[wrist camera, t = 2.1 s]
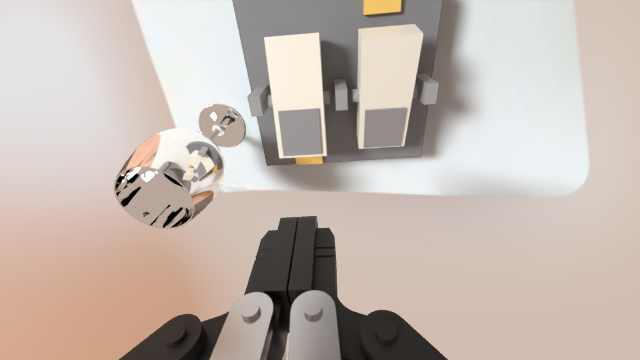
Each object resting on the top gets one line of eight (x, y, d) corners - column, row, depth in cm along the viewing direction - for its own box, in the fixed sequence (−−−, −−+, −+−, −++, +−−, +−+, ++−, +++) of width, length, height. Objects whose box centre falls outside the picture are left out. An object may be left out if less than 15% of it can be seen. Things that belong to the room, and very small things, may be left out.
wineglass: (260, 114, 25) (214, 183, 15) (241, 161, 28) (192, 246, 18) (199, 85, 24) (106, 139, 14) (186, 137, 27) (100, 215, 17)
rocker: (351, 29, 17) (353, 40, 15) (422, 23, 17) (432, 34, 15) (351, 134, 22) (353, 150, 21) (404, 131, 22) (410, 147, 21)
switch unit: (243, -2, 20) (214, -6, 15) (430, -20, 20) (467, -30, 14) (272, 152, 28) (260, 186, 22) (411, 144, 27) (432, 177, 21)
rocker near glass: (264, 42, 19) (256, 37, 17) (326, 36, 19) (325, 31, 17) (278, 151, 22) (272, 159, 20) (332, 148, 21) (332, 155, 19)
